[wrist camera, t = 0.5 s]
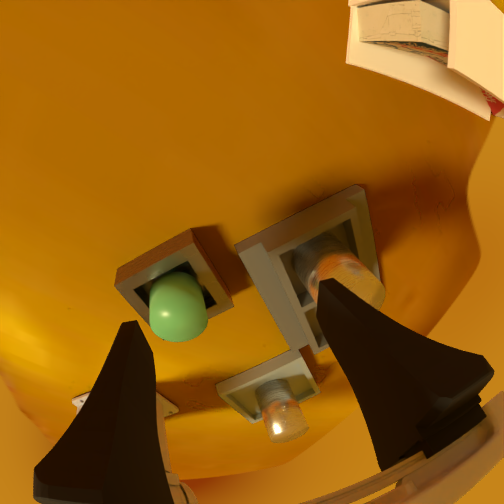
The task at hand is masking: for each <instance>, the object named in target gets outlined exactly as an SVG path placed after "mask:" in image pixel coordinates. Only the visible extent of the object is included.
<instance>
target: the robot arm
mask: <svg viewBox="0 0 504 504" xmlns="http://www.w3.org/2000/svg"><path fill="white" fill-rule="evenodd" d="M316 318H317V320H318V323H319V325H320V328H321V330H322V333H323V335H324V337H325V339H326V341H327V343H328V345H329V346H330V348H331V350H332V352H333V353H334V355H335V357H336V359H337V360H338V362H339V364H340V366H341V367H342V369H343V371H344V373H345V375H346V376H347V378H348V380H349V382H350V384H351V386H352V388H353V391H354V393H355V395H356V398H357V400H358V403H359V405H360V408H361V410H362V413H363V416H364V418H365V421H366V424H367V427H368V430H369V433H370V436H371V439H372V443H373V446H374V450H375V453H376V457H377V461H378V464H379V467H380V469H381V471H382V472H380V473H378V474H376V475H374V476H372V477H370V478H367V479H365V480H363V481H360V482H358V483H356V484H353V485H351V486H348V487H346V488H343V489H341V490H338V491H336V492H333V493H330V494H327V495H325V496H322V497H319V498H316V499H313V500H310V501H306V502H304V503H300V504H349V503H352V502H354V501H357V500H359V499H361V498H364V497H366V496H368V495H370V494H373V493H375V492H377V491H379V490H381V489H383V488H385V487H387V486H389V485H391V484H393V483H395V482H397V481H398V482H397V483H396V487H395V489H393V490H391V491H389V492H388V493H385V494H383V495H381V496H379V497H377V498H375V499H373V500H371V501H369V502H367V503H365V504H454V503H455V502H457V501H458V500H459V499H460V498H461V497H462V496H464V495H465V494H466V493H467V492H468V491H469V490H470V489H472V488H473V487H474V486H475V485H476V484H477V483H478V482H479V481H480V480H481V479H482V478H483V477H484V476H485V475H487V474H488V473H489V472H490V470H491V469H492V468H494V466H495V465H496V464H497V463H498V462H499V461H500V460H501V459H502V458H503V457H504V392H503V391H501V392H500V393H499V394H497V395H496V396H495V397H494V398H493V399H491V400H490V401H489V402H488V403H487V404H485V405H484V406H483V407H482V408H481V406H480V405H479V403H480V402H481V398H480V397H479V395H478V394H479V393H480V391H481V390H482V389H483V388H484V387H485V386H486V385H487V383H488V382H489V381H490V380H491V378H492V377H493V375H494V370H493V368H492V367H491V366H490V364H489V363H488V362H487V360H486V359H485V358H484V356H483V355H478V354H474V353H470V352H466V351H462V350H459V349H456V348H453V347H450V346H447V345H444V344H441V343H439V342H436V341H434V340H431V339H429V338H427V337H424V336H422V335H420V334H418V333H416V332H414V331H412V330H410V329H408V328H406V327H405V326H403V325H401V324H399V323H397V322H396V321H394V320H392V319H391V318H389V317H388V316H386V315H384V314H383V313H381V312H380V311H378V310H377V309H375V308H374V307H372V306H371V305H370V304H368V303H367V302H365V301H364V300H363V299H361V298H360V297H358V296H357V295H356V294H354V293H353V292H352V291H350V290H349V289H348V288H346V287H345V286H344V285H342V284H341V283H340V282H338V281H337V280H336V279H334V278H329V279H325V280H321V281H319V289H318V300H317V311H316ZM72 403H73V404H74V405H75V406H77V416H76V417H75V419H74V420H73V422H72V423H71V425H70V426H69V428H68V429H67V430H66V432H65V433H64V434H63V436H62V437H61V438H60V440H59V441H58V442H57V443H56V445H55V446H54V447H53V449H52V450H51V451H50V452H49V453H48V454H47V455H46V456H45V457H44V458H43V459H42V460H41V461H40V462H39V463H38V465H36V466H35V468H34V483H33V485H34V486H33V488H34V489H33V497H34V499H35V500H36V501H37V502H39V503H41V504H198V501H197V498H196V496H195V494H194V492H193V491H192V490H191V489H190V488H189V487H188V486H187V485H186V484H185V483H182V482H179V478H178V474H172V471H171V465H170V458H169V452H168V445H167V438H166V430H165V422H164V417H166V416H169V415H172V414H175V413H177V412H178V411H179V408H178V407H177V406H175V405H174V404H172V403H171V402H170V401H168V400H167V399H165V398H164V397H163V396H161V395H160V394H159V393H157V392H156V374H155V365H154V357H153V352H152V350H151V348H150V346H149V344H148V342H147V340H146V338H145V336H144V334H143V332H142V330H141V328H140V326H139V324H138V322H137V320H135V321H129V322H123V323H122V324H121V326H120V328H119V330H118V333H117V335H116V338H115V340H114V342H113V345H112V347H111V349H110V352H109V354H108V356H107V358H106V361H105V363H104V365H103V367H102V370H101V372H100V374H99V376H98V378H97V380H96V382H95V384H94V386H93V388H92V390H91V392H90V393H87V394H84V395H82V396H79V397H76V398H73V399H72Z"/></svg>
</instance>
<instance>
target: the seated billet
mask: <svg viewBox="0 0 504 504" xmlns="http://www.w3.org/2000/svg"><path fill="white" fill-rule="evenodd" d="M292 266H293V269H294V271H295V272H296V274H297V275H298V277H299V278H300V280H301V281H302V283H303V284H304V286H305V287H306V289H307V291H308V292H309V294H310V295H311V297H312V298H313V300H314V301H315V303H316V304H317V300H318V289H319V281H321V280H325V279H329V278H334V279H336V280H337V281H338V282H340V283H341V284H342V285H344V286H345V287H346V288H348V289H349V290H350V291H352V292H353V293H354V294H356V295H357V296H358V297H360V298H361V299H363V300H364V301H365V302H367V303H368V304H370V305H371V306H372V307H374V308H375V309H377V310H378V311H379V309H380V308H381V306H382V304H383V301H384V298H385V288H384V286H383V284H382V283H381V282H380V281H379V280H378V279H377V278H376V277H375V276H374V275H373V273H372V272H371V271H370V270H369V269H368V268H367V267H366V266H365V265H364V264H363V263H362V262H361V261H360V260H359V259H358V258H357V257H356V256H355V255H354V254H353V253H352V252H351V251H350V250H349V249H348V248H347V247H346V246H345V245H344V244H343V243H342V242H341V241H340V240H339V239H338V238H337V237H336V236H335V235H334V234H332V233H330V232H323V233H321V234H319V235H317V236H315V237H314V238H312V239H310V240H308V241H306V242H304V243H302V244H300V245H298V246H297V247H296V249H295V250H294V253H293V256H292Z"/></svg>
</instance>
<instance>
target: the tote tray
mask: <svg viewBox="0 0 504 504" xmlns="http://www.w3.org/2000/svg"><path fill="white" fill-rule="evenodd" d="M274 379H285V380H287V381H288V382H289V384H290V386H291V388H292V391H293V393H294V395H295V398H296V400H297V402H298V404H299V403H301V402H303V401H305V400H307V399H309V398H311V397H313V396H315V395H317V394H319V393H321V392H320V390H319V388H318V386H317V384H316V382H315V380H314V378H313V376H312V374H311V373H310V371H309V369H308V367H307V365H306V363H305V361H304V359H303V357H302V355H301V353H300V352H299V350H296V351H294V352H292V350H289V351H287V352H285V353H283V354H281V355H279V356H277V357H275V358H273V359H271V360H268V361H266V362H264V363H262V364H260V365H258V366H256V367H254V368H251V369H249V370H247V371H245V372H243V373H240V374H238V375H236V376H234V377H231V378H229V379H227V380H224V381H222V382H220V383H217V384H215V385H216V390H217V394H218V396H219V397H221V398H222V399H223V400H224V401H225V402H226V403H228V404H229V405H230V406H231V407H232V408H234V409H235V410H236V411H237V412H238V413H240V414H241V415H242V416H243V417H245V418H246V419H247V420H248V421H250V422H251V423H252V424H253V423H255V422H258V421H260V420H263V417H262V414H261V411H260V409H259V406H258V403H257V400H256V397H255V391H256V389H257V388H258V387H259V386H260V385H262V384H263V383H265V382H268V381H270V380H274Z"/></svg>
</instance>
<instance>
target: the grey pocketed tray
mask: <svg viewBox="0 0 504 504" xmlns="http://www.w3.org/2000/svg"><path fill="white" fill-rule="evenodd" d="M323 232H330V233H332V234H334V235H335V236H336V237H337V238H338V239H339V240H340V241H341V242H342V243H343V244H344V245H345V246H346V247H347V248H348V249H349V250H350V251H351V252H352V253H353V254H354V255H355V256H356V257H357V258H358V259H359V260H360V261H361V262H362V263H363V264H364V265H365V266H366V267H367V268H368V269H369V270H370V271H371V272H372V273H373V275H374V276H375V277H376V278H377V279H378V280H379V281H380V275H379V267H378V261H377V254H376V248H375V241H374V236H373V230H372V224H371V219H370V214H369V209H368V204H367V199H366V194H365V190H364V189H363V188H361V187H360V186H358V185H356V184H355V185H353V186H351V187H349V188H347V189H345V190H343V191H341V192H339V193H337V194H335V195H333V196H331V197H329V198H327V199H324V200H322V201H320V202H318V203H316V204H314V205H312V206H310V207H308V208H307V209H305V210H303V211H301V212H299V213H297V214H295V215H293V216H291V217H289V218H287V219H285V220H283V221H281V222H279V223H277V224H275V225H273V226H271V227H269V228H267V229H265V230H263V231H261V232H259V233H257V234H255V235H253V236H251V237H249V238H247V239H245V240H243V241H241V242H239V243H237V244H236V245H235V248H236V250H237V252H238V254H239V256H240V258H241V260H242V262H243V264H244V265H245V267H246V269H247V271H248V273H249V275H250V276H251V278H252V280H253V282H254V284H255V286H256V287H257V289H258V291H259V293H260V295H261V296H262V298H263V300H264V302H265V304H266V306H267V307H268V309H269V311H270V313H271V315H272V316H273V318H274V320H275V322H276V324H277V325H278V327H279V329H280V331H281V333H282V334H283V336H284V338H285V340H286V342H287V343H288V345H289V347H290V349H291V350H292V352H294V351H296V350H298V349H300V348H302V347H304V346H306V345H308V344H309V346H310V347H311V349H312V351H313V353H314V355H315V354H317V353H319V352H321V351H323V350H324V349H326V348H328V347H330V346H329V345H328V343H327V341H326V339H325V337H324V335H323V333H322V330H321V328H320V325H319V323H318V320H317V318H316V311H317V304H316V303H315V301H314V300H313V298H312V297H311V295H310V294H309V292H308V291H307V289H306V287H305V286H304V284H303V283H302V281H301V280H300V278H299V277H298V275H297V274H296V272H295V271H294V269H293V266H292V256H293V253H294V250H295V249H296V247H297V246H298V245H300V244H302V243H304V242H306V241H308V240H310V239H312V238H314V237H315V236H317V235H319V234H321V233H323Z"/></svg>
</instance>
